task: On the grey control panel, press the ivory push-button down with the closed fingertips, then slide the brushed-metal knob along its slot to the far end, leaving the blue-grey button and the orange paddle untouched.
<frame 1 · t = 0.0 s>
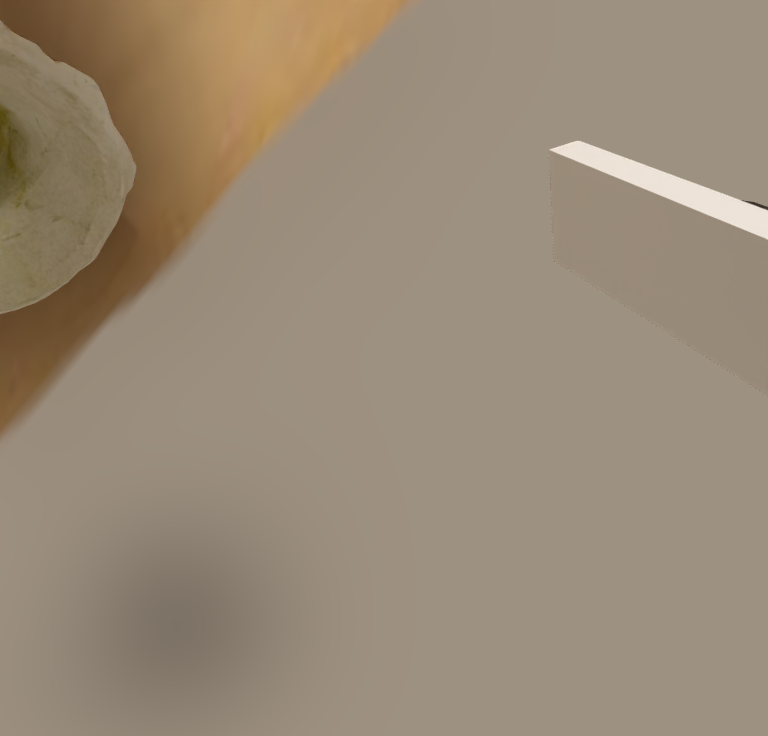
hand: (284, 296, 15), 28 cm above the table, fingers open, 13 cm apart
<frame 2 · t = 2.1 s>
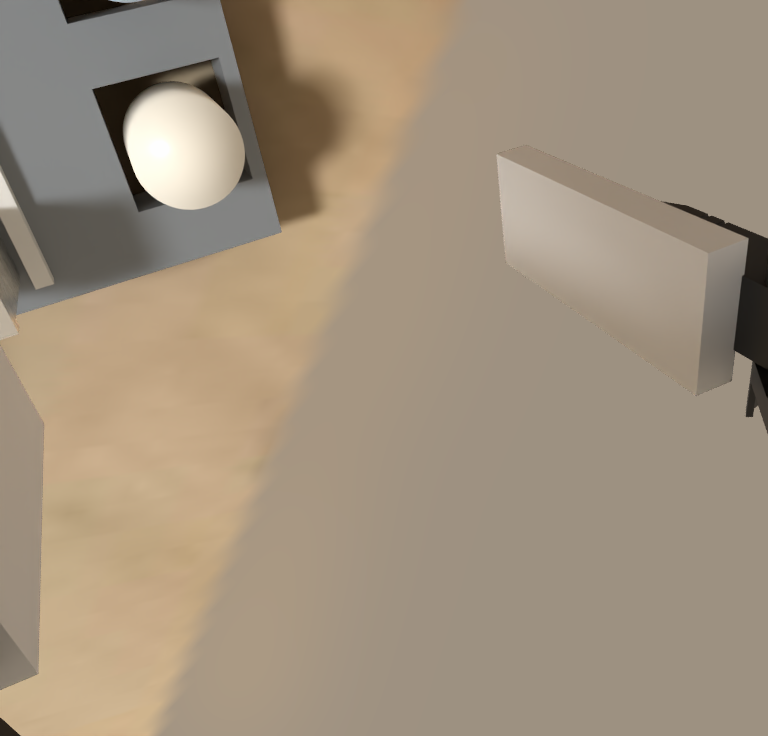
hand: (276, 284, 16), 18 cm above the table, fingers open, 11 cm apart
button ivory: (182, 144, 27), point 4 cm above the table, slide at 0.0 cm
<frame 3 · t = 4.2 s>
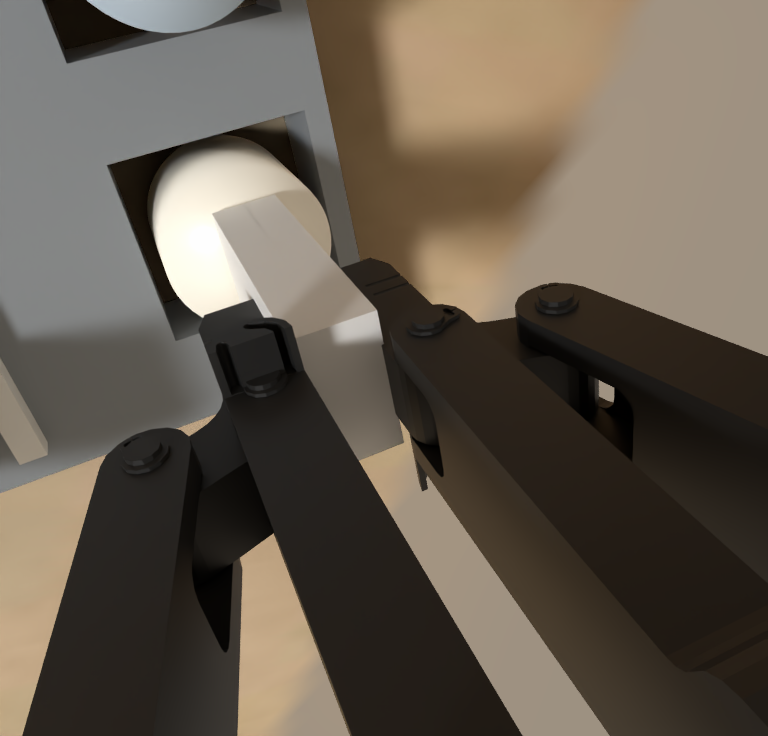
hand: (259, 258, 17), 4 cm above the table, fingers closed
button ivory: (236, 229, 18), point 2 cm above the table, slide at 1.5 cm, touching gripper
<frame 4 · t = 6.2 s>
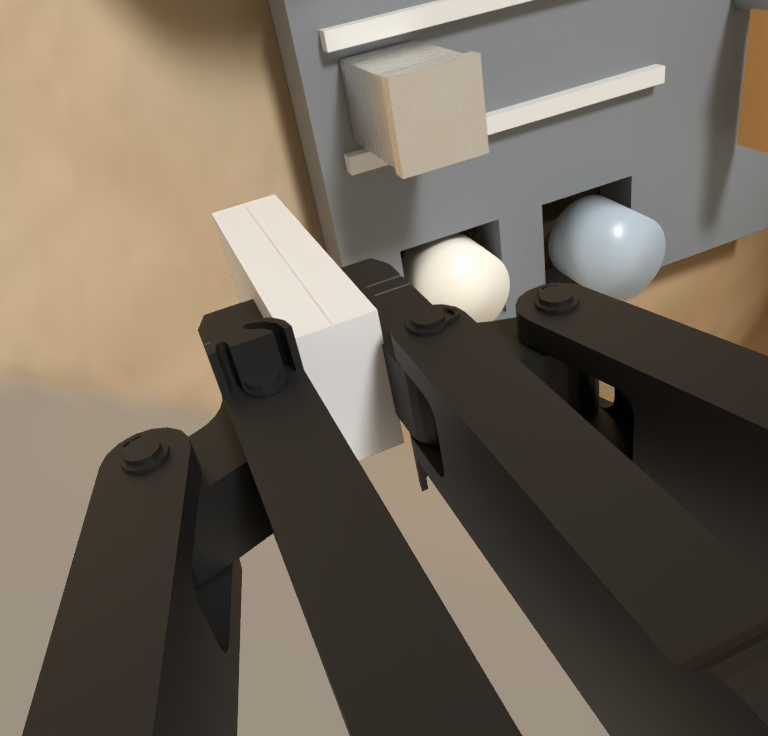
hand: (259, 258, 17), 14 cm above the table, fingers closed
button bluegrey: (605, 247, 33), point 4 cm above the table, slide at 0.0 cm
panel: (555, 122, 34), on the table
button ivory: (453, 280, 33), point 2 cm above the table, slide at 1.7 cm
slider knob: (410, 103, 25), point 5 cm above the table, slide at 0.0 cm
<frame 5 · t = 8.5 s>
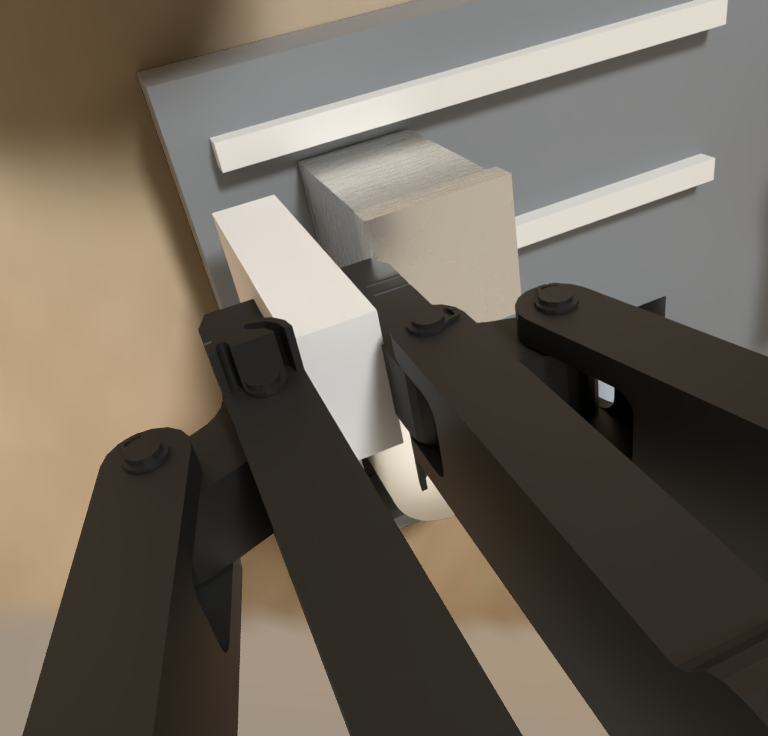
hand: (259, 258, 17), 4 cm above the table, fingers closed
button bluegrey: (631, 394, 25), point 4 cm above the table, slide at 0.0 cm
panel: (562, 224, 25), on the table
button ivory: (427, 442, 25), point 2 cm above the table, slide at 1.7 cm
slider knob: (402, 231, 17), point 5 cm above the table, slide at 1.4 cm, touching gripper
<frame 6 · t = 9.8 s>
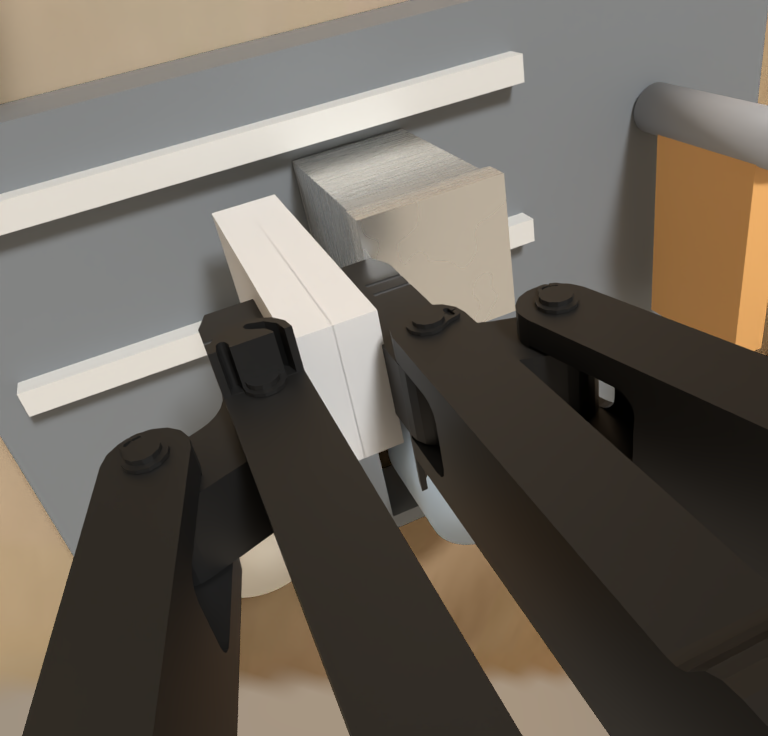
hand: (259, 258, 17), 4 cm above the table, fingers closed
paddle: (706, 221, 21), point 5 cm above the table, hinge at 0.0°
button bluegrey: (464, 462, 23), point 4 cm above the table, slide at 0.0 cm
panel: (393, 281, 24), on the table
button ivory: (246, 513, 23), point 2 cm above the table, slide at 1.7 cm
slider knob: (395, 230, 17), point 5 cm above the table, slide at 7.7 cm
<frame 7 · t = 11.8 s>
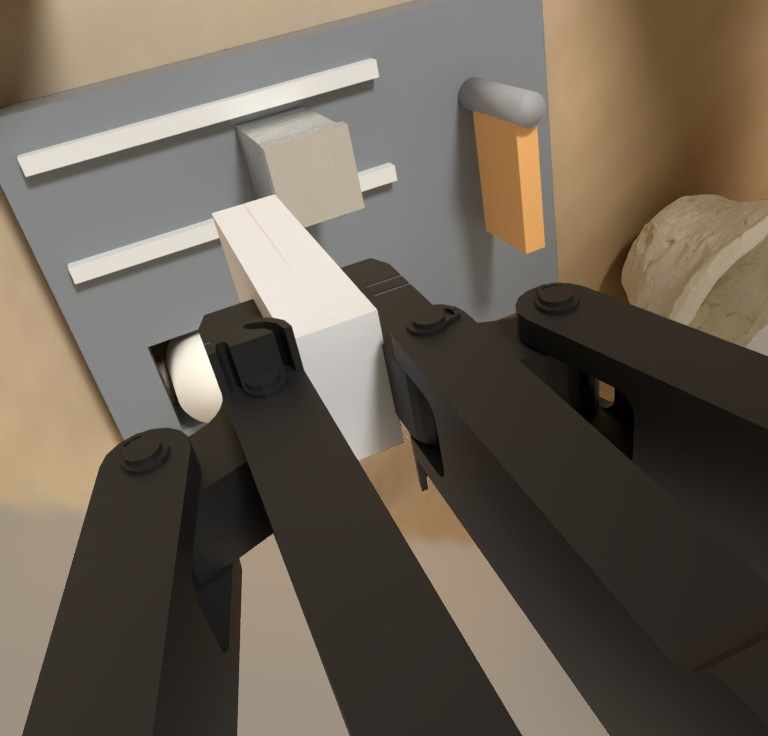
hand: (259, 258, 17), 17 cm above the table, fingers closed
paddle: (505, 165, 32), point 5 cm above the table, hinge at 0.0°
bowl: (656, 261, 46), on the table
panel: (312, 214, 35), on the table
button ivory: (214, 369, 34), point 2 cm above the table, slide at 1.7 cm
slider knob: (296, 164, 29), point 5 cm above the table, slide at 7.7 cm
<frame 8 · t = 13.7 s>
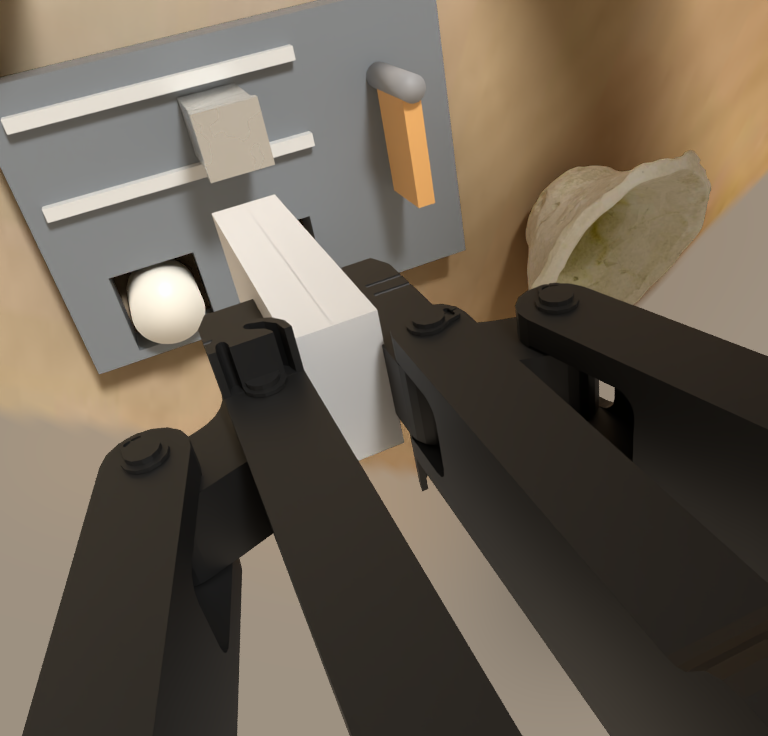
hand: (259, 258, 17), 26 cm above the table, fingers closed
paddle: (403, 134, 39), point 5 cm above the table, hinge at 0.0°
bowl: (561, 224, 53), on the table
panel: (249, 173, 42), on the table
button ivory: (165, 300, 42), point 2 cm above the table, slide at 1.7 cm
slider knob: (223, 129, 36), point 5 cm above the table, slide at 7.7 cm
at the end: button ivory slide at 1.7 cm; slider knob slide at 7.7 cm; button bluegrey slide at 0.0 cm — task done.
